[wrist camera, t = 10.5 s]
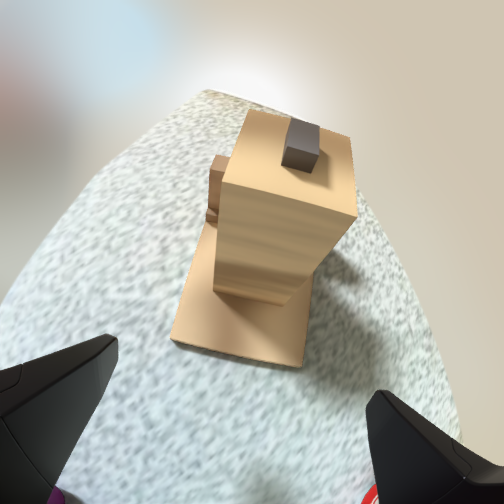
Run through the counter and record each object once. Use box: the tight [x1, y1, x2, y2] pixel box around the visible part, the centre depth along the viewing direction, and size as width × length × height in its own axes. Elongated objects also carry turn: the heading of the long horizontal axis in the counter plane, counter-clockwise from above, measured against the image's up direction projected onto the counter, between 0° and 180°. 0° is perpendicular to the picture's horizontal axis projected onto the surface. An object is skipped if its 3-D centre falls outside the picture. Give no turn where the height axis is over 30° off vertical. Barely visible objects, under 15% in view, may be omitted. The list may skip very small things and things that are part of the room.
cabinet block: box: [213, 109, 357, 307], centre depth 15 cm, size 5×5×12 cm
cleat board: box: [170, 155, 314, 368], centre depth 18 cm, size 9×12×6 cm
